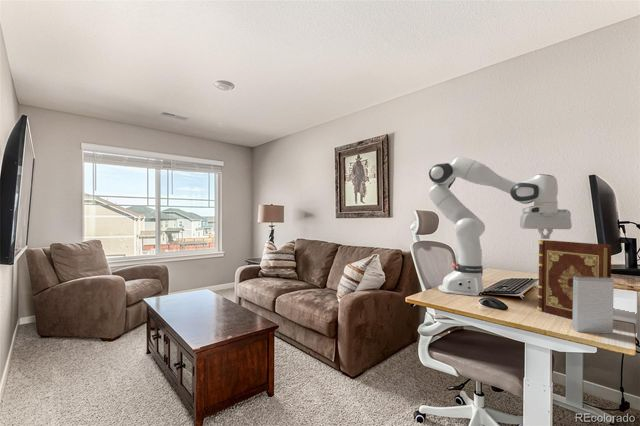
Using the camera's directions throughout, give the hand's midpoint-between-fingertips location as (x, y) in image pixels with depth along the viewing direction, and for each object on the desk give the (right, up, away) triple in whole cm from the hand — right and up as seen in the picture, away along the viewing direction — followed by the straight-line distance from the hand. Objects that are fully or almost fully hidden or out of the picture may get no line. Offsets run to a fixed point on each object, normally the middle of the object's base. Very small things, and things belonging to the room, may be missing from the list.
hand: (545, 238), depth 139 cm
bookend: (-8, -30, -33) cm, 45 cm away
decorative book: (-3, -30, -18) cm, 35 cm away
